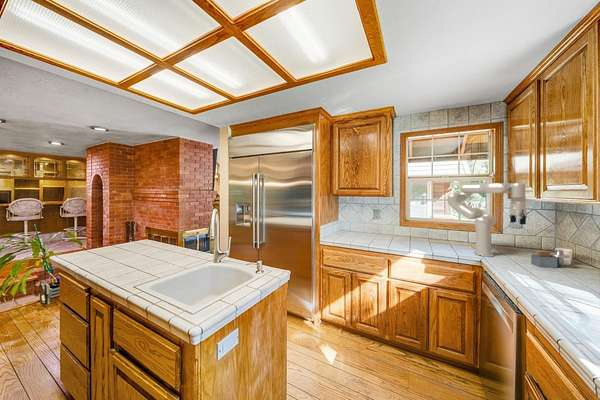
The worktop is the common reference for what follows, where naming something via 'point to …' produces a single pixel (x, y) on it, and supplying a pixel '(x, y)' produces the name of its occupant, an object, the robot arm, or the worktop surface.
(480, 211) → the robot arm
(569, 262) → the white cup
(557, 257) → the grey boxy piece
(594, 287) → the worktop surface
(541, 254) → the wedge peg
